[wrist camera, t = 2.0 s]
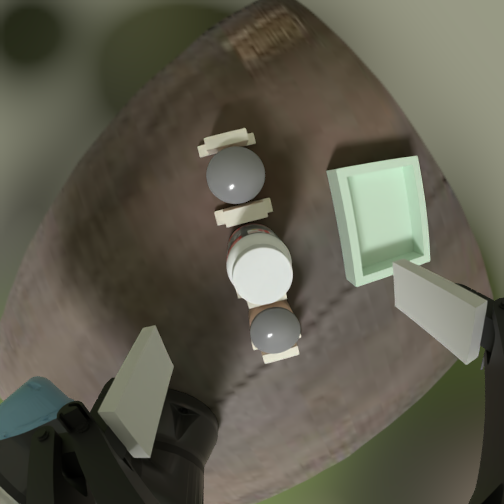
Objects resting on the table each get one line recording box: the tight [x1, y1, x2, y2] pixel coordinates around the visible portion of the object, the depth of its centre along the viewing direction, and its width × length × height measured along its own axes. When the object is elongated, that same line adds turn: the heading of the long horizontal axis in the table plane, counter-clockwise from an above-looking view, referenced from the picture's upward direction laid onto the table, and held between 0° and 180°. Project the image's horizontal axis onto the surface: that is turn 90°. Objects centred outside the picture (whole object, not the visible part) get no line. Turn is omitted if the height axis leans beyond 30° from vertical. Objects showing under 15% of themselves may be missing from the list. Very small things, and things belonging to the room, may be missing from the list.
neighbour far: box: [248, 299, 300, 354], centre depth 31 cm, size 5×5×5 cm
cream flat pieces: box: [197, 128, 301, 364], centre depth 29 cm, size 6×24×4 cm, turn 14°
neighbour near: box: [206, 146, 265, 204], centre depth 27 cm, size 5×5×5 cm
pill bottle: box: [226, 223, 293, 305], centre depth 26 cm, size 6×6×10 cm
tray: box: [326, 156, 430, 287], centre depth 30 cm, size 11×13×3 cm
